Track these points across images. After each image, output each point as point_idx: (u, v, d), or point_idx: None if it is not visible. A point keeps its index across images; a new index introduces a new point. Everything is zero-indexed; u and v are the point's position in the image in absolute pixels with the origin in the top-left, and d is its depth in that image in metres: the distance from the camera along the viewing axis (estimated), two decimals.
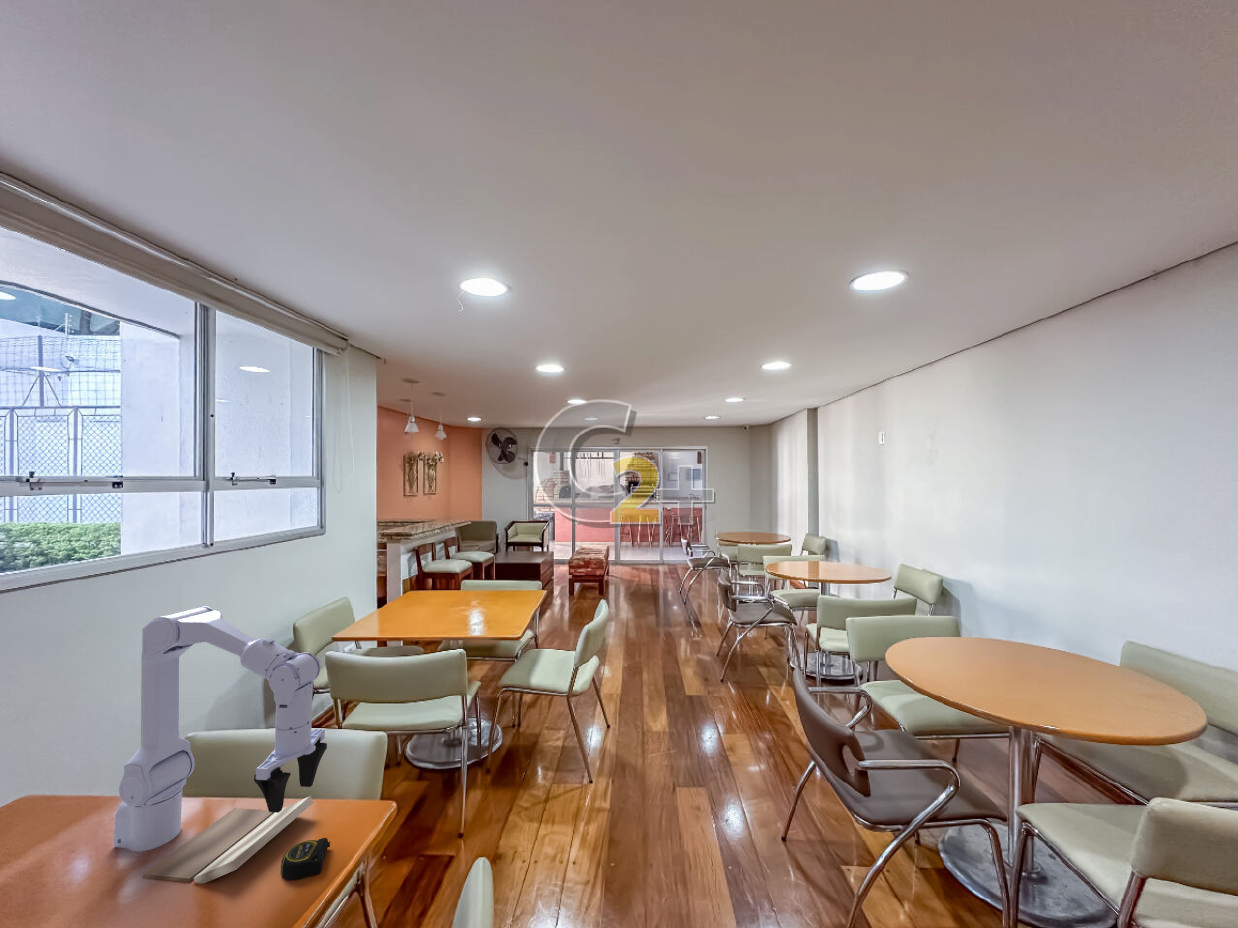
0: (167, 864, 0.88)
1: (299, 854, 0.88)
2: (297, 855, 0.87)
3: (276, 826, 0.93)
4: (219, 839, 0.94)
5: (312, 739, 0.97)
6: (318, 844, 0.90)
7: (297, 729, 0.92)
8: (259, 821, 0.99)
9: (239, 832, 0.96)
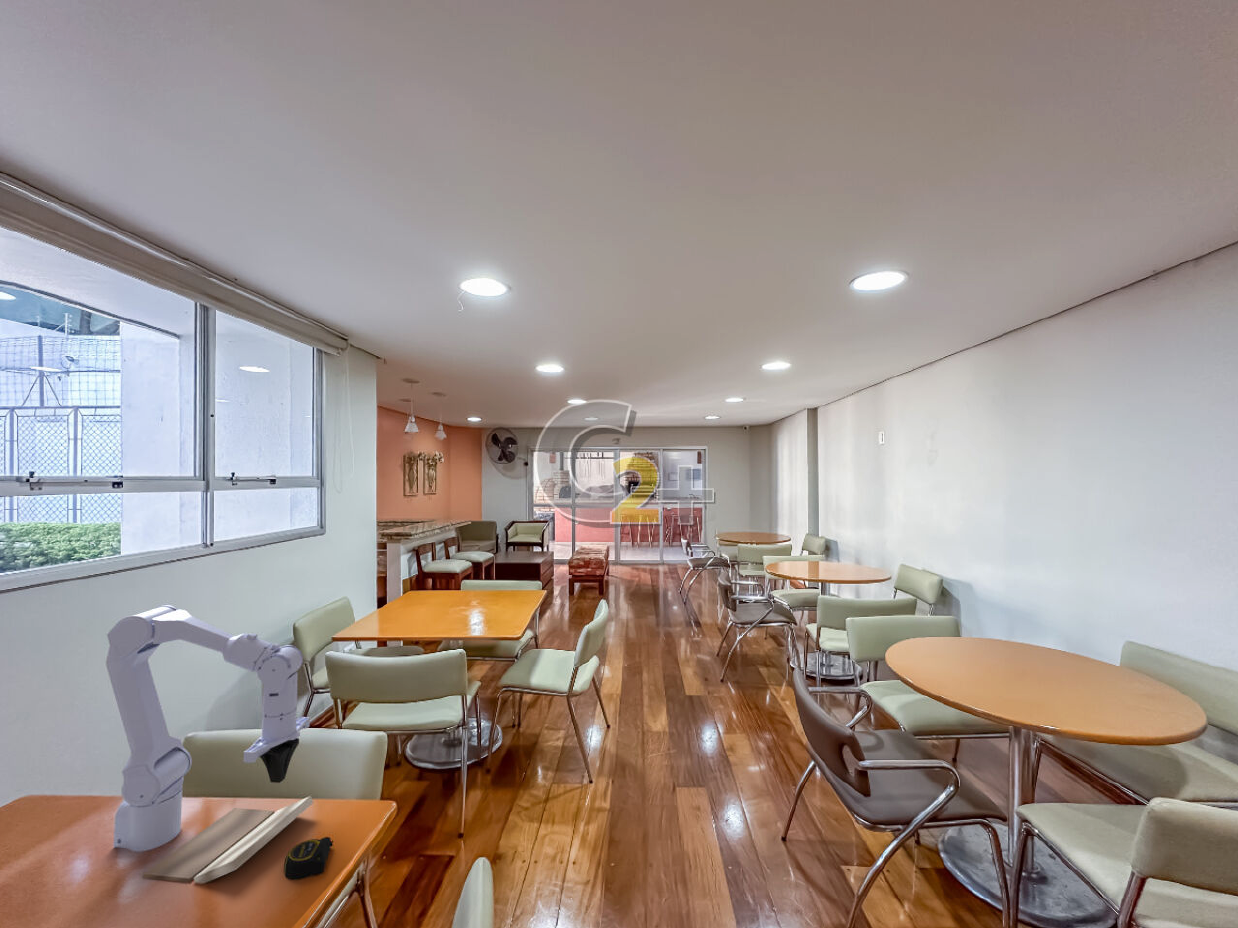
0: (167, 864, 0.88)
1: (302, 854, 0.88)
2: (300, 854, 0.88)
3: (276, 826, 0.93)
4: (219, 839, 0.94)
5: (297, 726, 1.04)
6: (321, 844, 0.90)
7: (282, 716, 0.98)
8: (259, 821, 0.99)
9: (239, 832, 0.96)
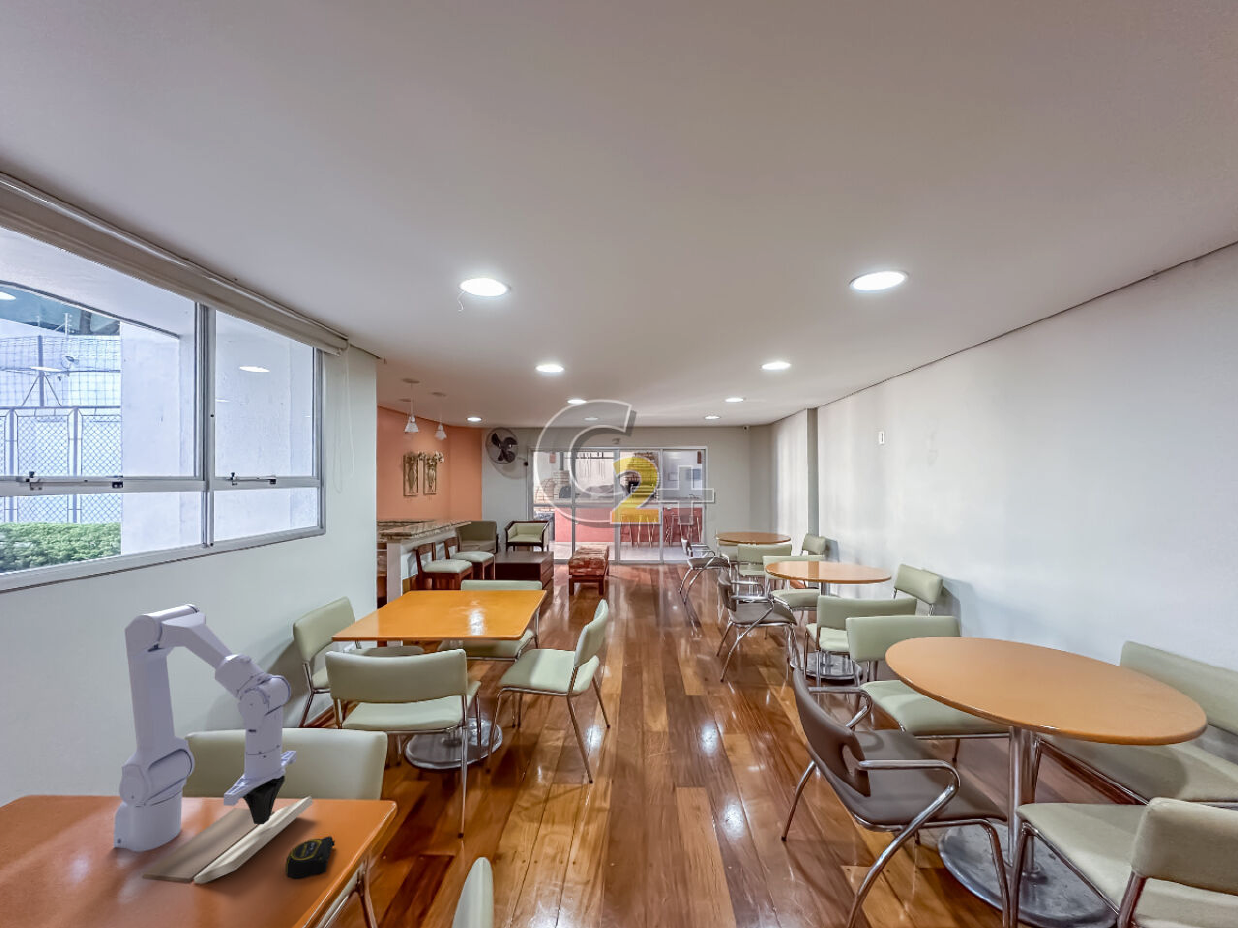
0: (167, 864, 0.88)
1: (304, 853, 0.88)
2: (302, 854, 0.88)
3: (276, 826, 0.93)
4: (219, 839, 0.94)
5: (283, 762, 0.98)
6: (323, 843, 0.90)
7: (266, 753, 0.92)
8: None
9: (239, 832, 0.96)
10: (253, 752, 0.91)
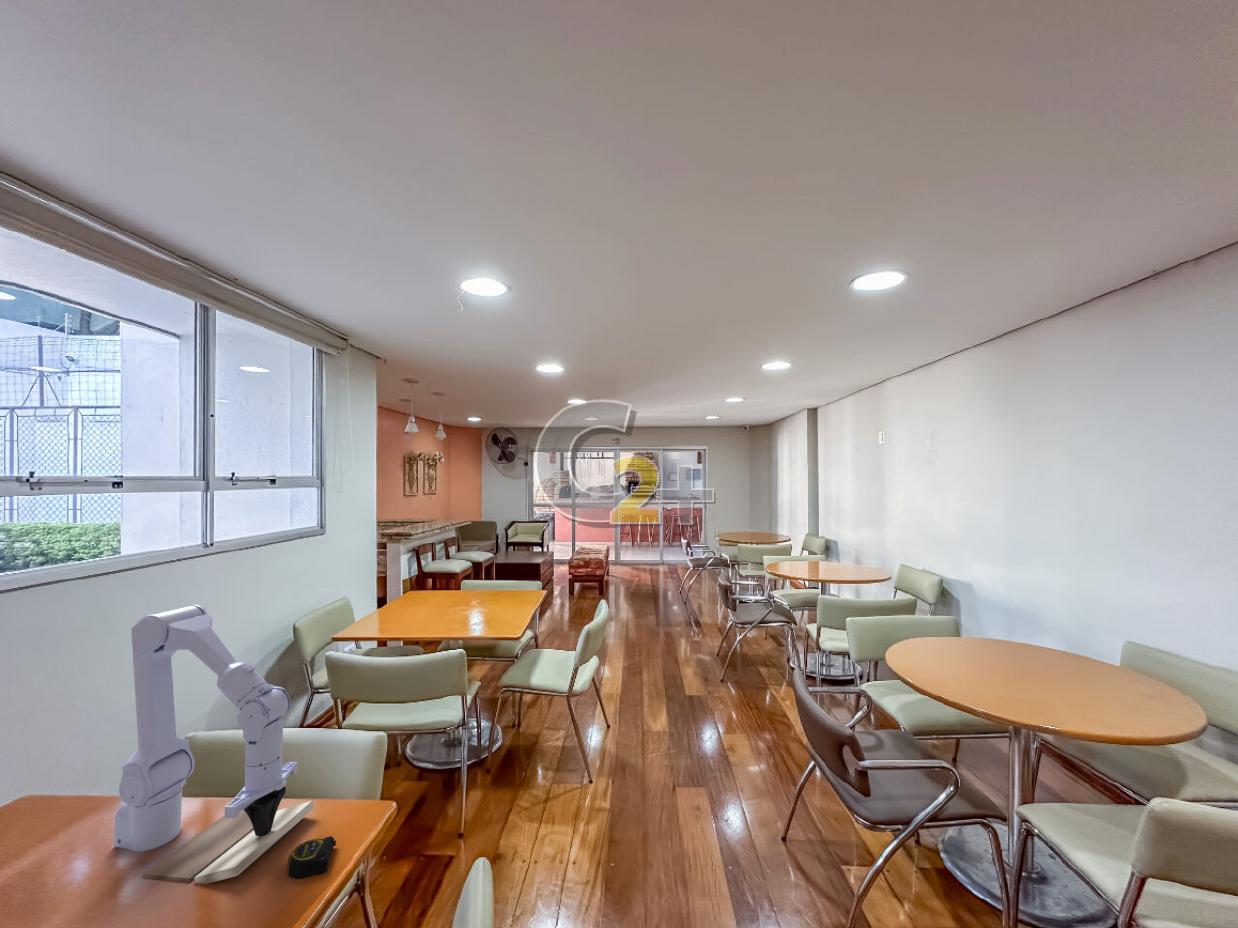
0: (167, 864, 0.88)
1: (305, 853, 0.88)
2: (303, 854, 0.88)
3: (278, 831, 0.93)
4: (219, 839, 0.94)
5: (284, 773, 0.98)
6: (324, 843, 0.90)
7: (267, 765, 0.92)
8: None
9: (239, 832, 0.96)
10: (253, 764, 0.91)
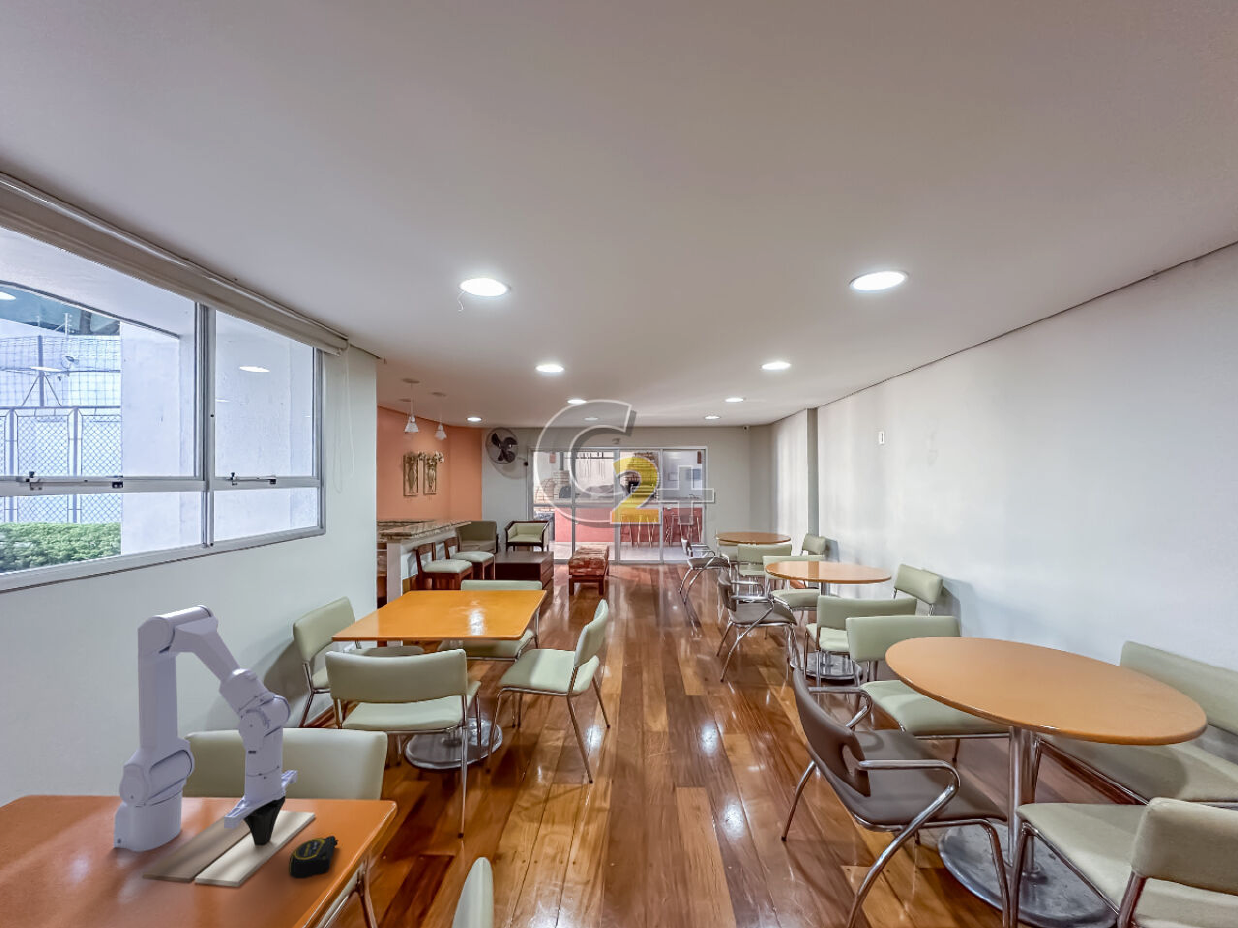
0: (167, 864, 0.88)
1: (307, 852, 0.88)
2: (305, 853, 0.88)
3: (280, 845, 0.93)
4: (219, 839, 0.94)
5: (284, 782, 0.97)
6: (326, 842, 0.90)
7: (267, 775, 0.92)
8: None
9: (239, 832, 0.96)
10: (253, 773, 0.91)
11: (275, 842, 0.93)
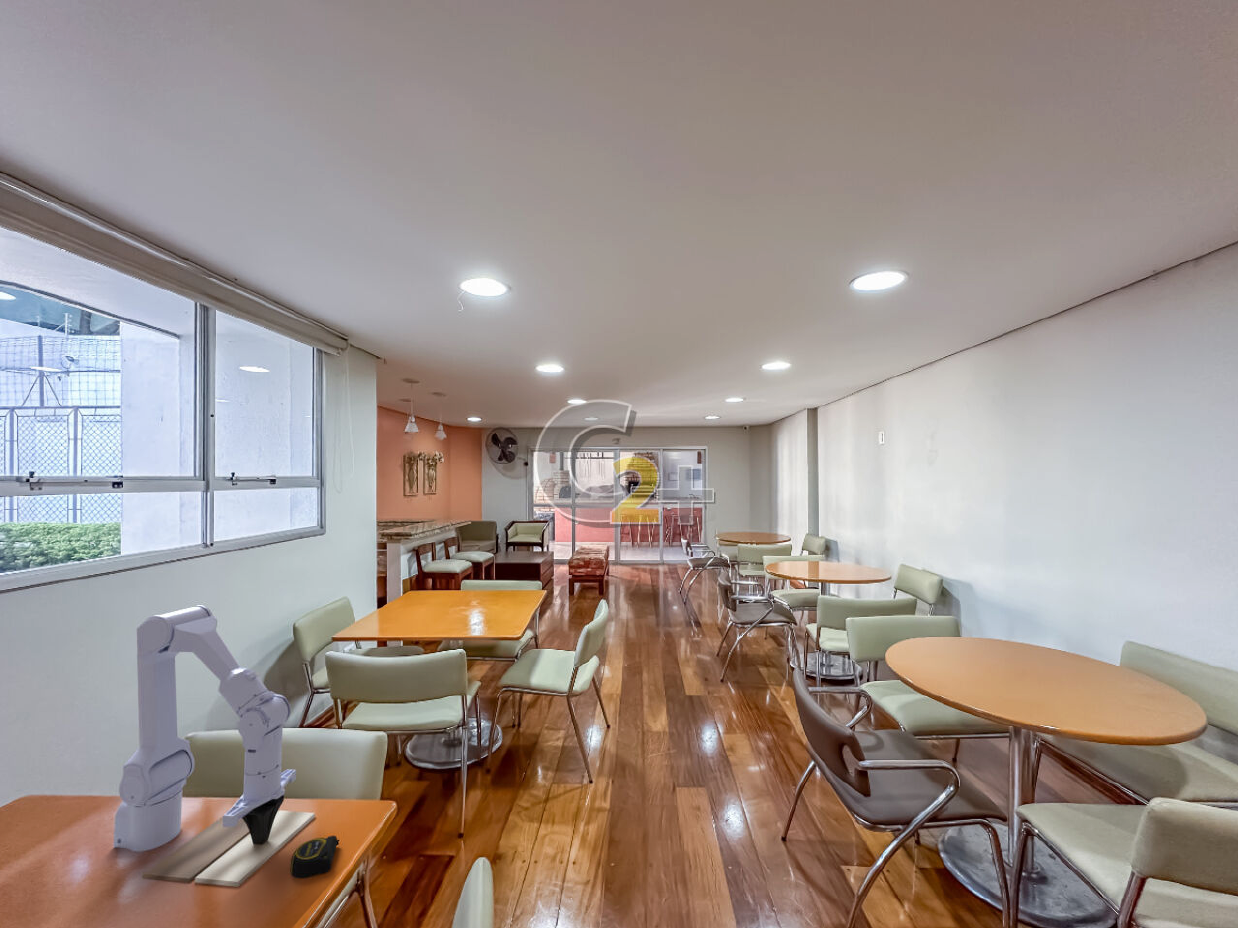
0: (167, 864, 0.88)
1: (309, 852, 0.88)
2: (306, 853, 0.88)
3: (280, 845, 0.93)
4: (219, 839, 0.94)
5: (282, 781, 0.97)
6: (327, 842, 0.91)
7: (266, 774, 0.92)
8: None
9: (239, 832, 0.96)
10: (252, 772, 0.91)
11: (275, 842, 0.93)
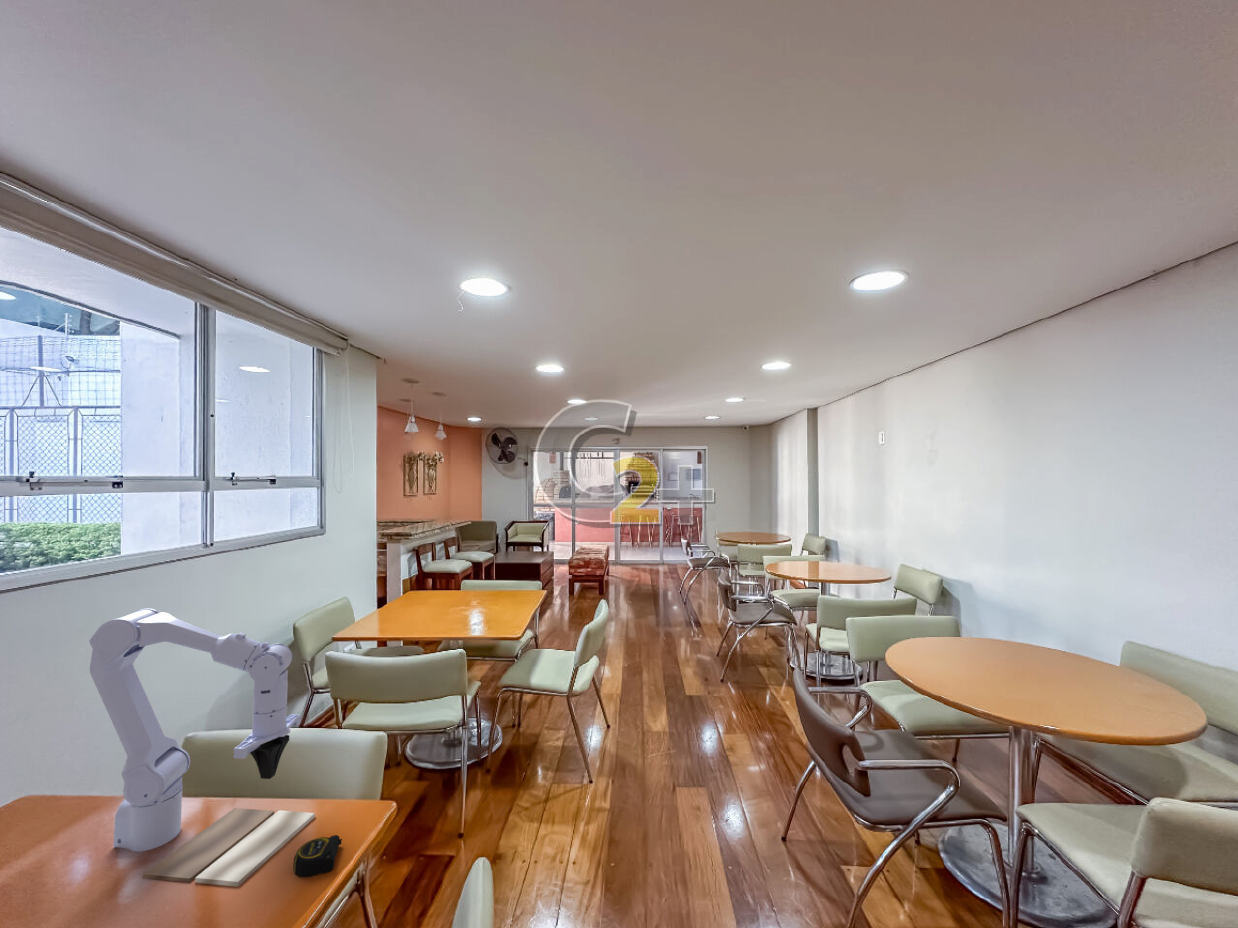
0: (167, 864, 0.88)
1: (311, 851, 0.88)
2: (309, 852, 0.88)
3: (280, 845, 0.93)
4: (219, 839, 0.94)
5: (288, 723, 1.05)
6: (330, 842, 0.91)
7: (273, 713, 1.00)
8: (259, 821, 0.99)
9: (239, 832, 0.96)
10: (267, 711, 0.99)
11: (275, 842, 0.93)
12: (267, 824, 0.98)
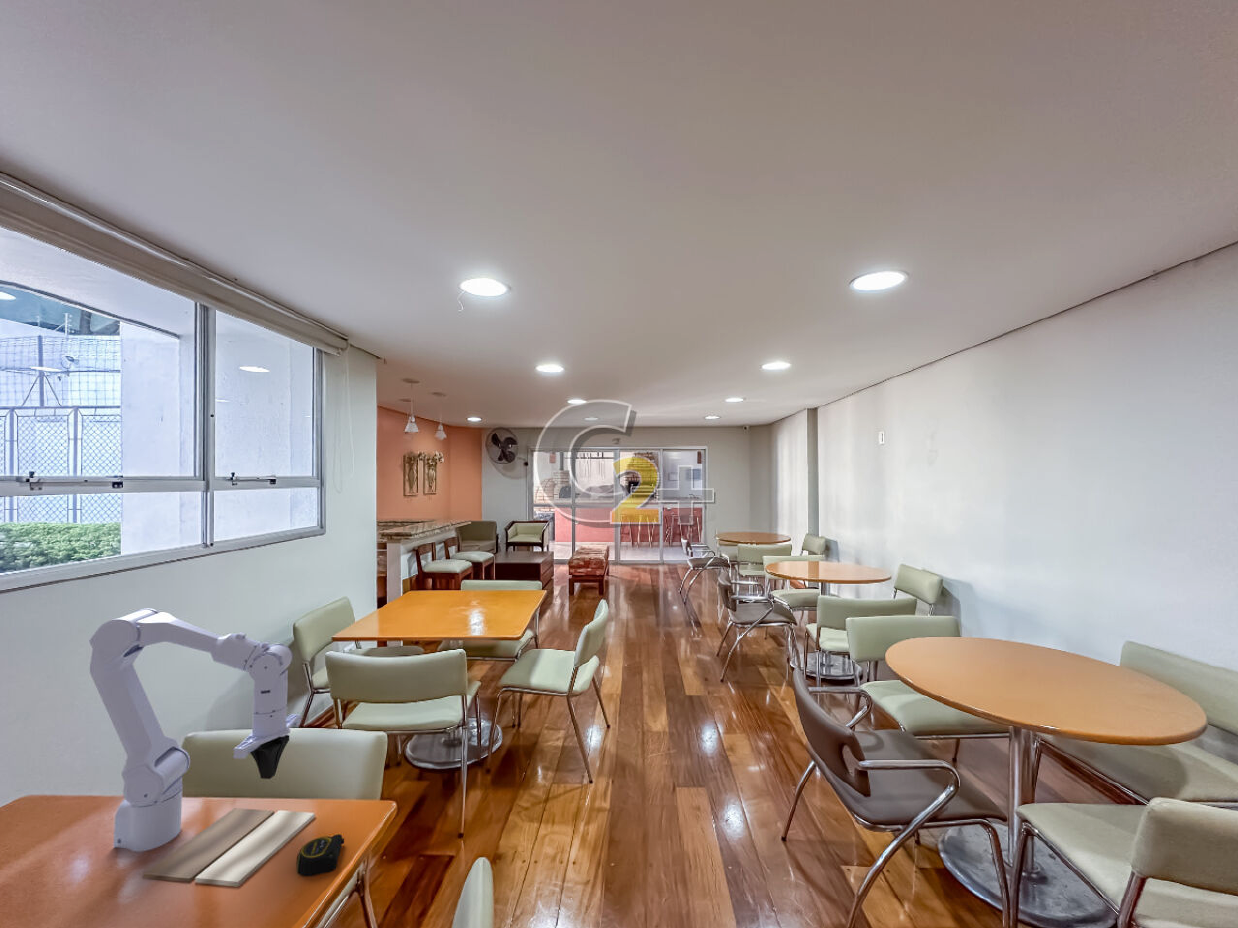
0: (167, 864, 0.88)
1: (314, 851, 0.88)
2: (312, 851, 0.88)
3: (280, 845, 0.93)
4: (219, 839, 0.94)
5: (288, 723, 1.05)
6: (332, 841, 0.91)
7: (273, 713, 1.00)
8: (259, 821, 0.99)
9: (239, 832, 0.96)
10: (267, 711, 0.99)
11: (275, 842, 0.93)
12: (267, 824, 0.98)
